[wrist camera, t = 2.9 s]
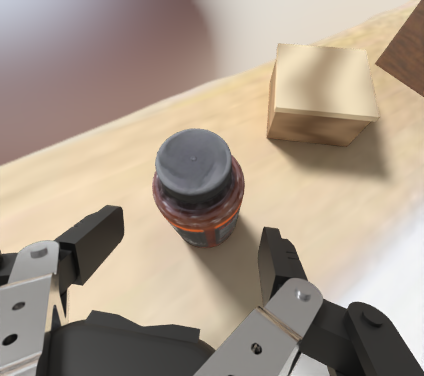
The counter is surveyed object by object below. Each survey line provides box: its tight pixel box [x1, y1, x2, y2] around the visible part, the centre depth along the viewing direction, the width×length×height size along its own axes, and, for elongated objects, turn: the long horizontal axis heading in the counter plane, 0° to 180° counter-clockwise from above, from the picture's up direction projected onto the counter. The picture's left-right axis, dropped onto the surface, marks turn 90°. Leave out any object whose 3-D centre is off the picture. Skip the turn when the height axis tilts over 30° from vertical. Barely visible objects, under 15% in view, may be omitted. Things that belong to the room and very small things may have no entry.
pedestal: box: [267, 43, 380, 147], centre depth 24 cm, size 9×9×5 cm
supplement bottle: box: [152, 129, 245, 248], centre depth 16 cm, size 6×6×11 cm
